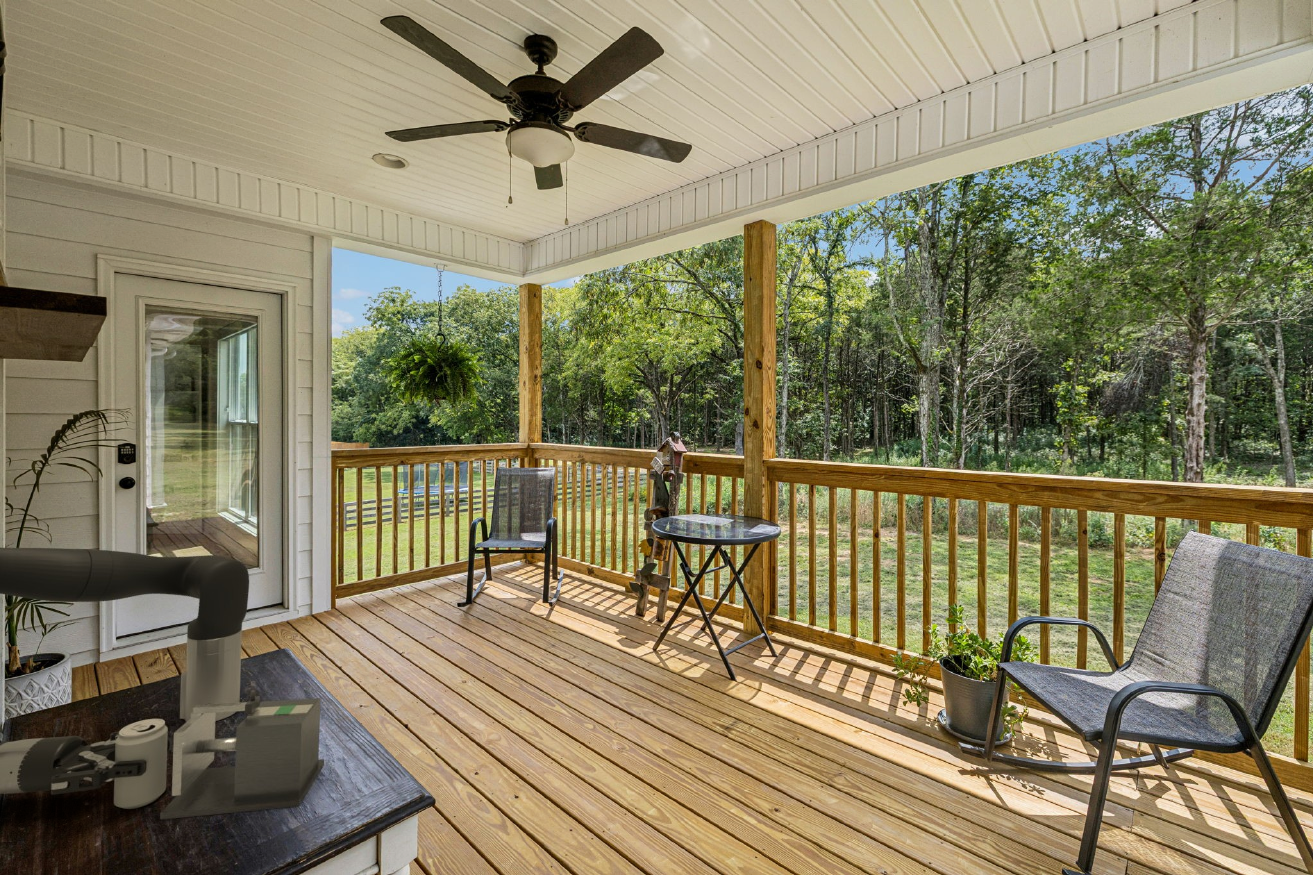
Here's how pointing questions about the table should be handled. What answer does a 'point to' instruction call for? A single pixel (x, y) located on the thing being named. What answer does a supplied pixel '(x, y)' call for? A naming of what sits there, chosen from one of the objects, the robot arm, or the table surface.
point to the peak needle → (252, 703)
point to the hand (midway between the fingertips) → (157, 755)
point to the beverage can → (146, 745)
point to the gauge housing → (260, 764)
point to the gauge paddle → (199, 744)
